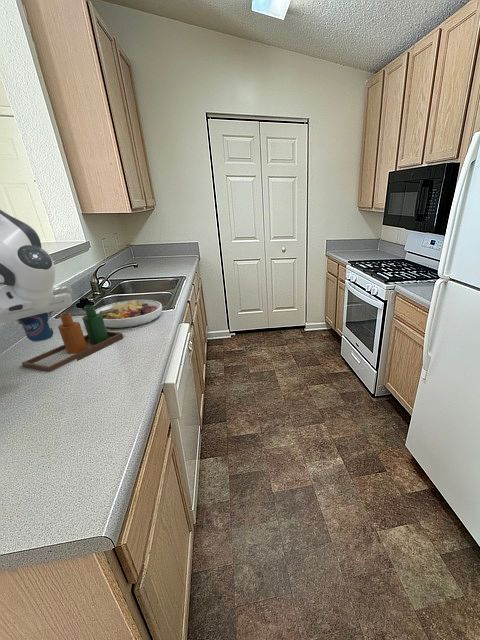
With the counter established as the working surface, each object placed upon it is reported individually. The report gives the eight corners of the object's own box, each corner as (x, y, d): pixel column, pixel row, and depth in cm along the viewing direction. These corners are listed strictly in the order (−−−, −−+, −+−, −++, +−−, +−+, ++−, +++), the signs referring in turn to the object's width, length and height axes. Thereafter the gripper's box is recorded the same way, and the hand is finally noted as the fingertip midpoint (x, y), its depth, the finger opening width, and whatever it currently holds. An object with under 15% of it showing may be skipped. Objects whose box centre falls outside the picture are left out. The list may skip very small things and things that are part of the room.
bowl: (79, 326, 151) (73, 309, 147) (130, 306, 176) (127, 292, 172) (129, 334, 141) (125, 316, 138) (176, 312, 166) (173, 297, 163)
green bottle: (90, 346, 130) (78, 309, 123) (91, 340, 135) (79, 305, 128) (109, 343, 133) (98, 307, 126) (109, 337, 138) (99, 302, 131)
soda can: (26, 344, 104) (10, 307, 98) (32, 336, 109) (17, 301, 104) (52, 340, 106) (38, 304, 101) (56, 333, 112) (43, 298, 106)
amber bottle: (67, 357, 121) (52, 318, 115) (69, 350, 127) (55, 313, 120) (87, 353, 124) (74, 315, 117) (88, 347, 129) (76, 310, 123)
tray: (50, 374, 110) (48, 367, 109) (24, 368, 114) (21, 362, 113) (123, 338, 137) (122, 333, 136) (100, 335, 141) (98, 329, 140)
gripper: (67, 277, 103) (64, 302, 113) (-16, 292, 88) (-12, 320, 98) (78, 293, 103) (74, 317, 112) (-4, 310, 88) (-1, 337, 97)
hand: (33, 318), depth 105 cm, fingers closed on soda can, 7 cm apart
